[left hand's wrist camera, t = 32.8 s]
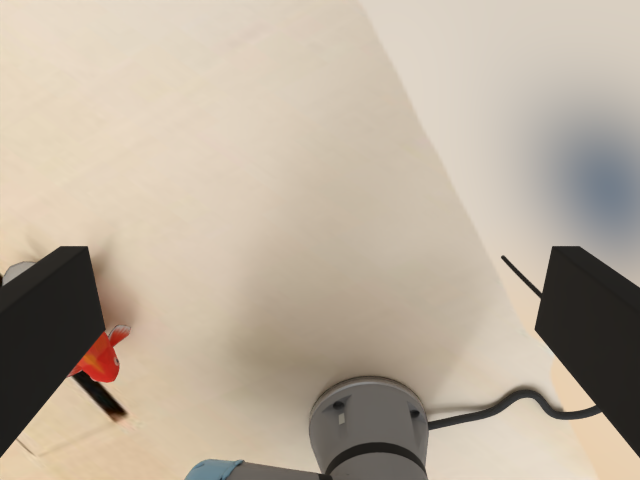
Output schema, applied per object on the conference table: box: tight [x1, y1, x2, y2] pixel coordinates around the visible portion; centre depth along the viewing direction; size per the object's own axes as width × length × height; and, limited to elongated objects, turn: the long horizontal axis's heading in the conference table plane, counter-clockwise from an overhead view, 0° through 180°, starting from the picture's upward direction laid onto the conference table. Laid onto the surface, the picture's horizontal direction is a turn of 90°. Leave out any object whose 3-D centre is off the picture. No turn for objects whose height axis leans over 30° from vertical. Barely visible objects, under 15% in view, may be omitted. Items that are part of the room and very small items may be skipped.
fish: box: [2, 262, 131, 383], centre depth 47 cm, size 11×16×10 cm
